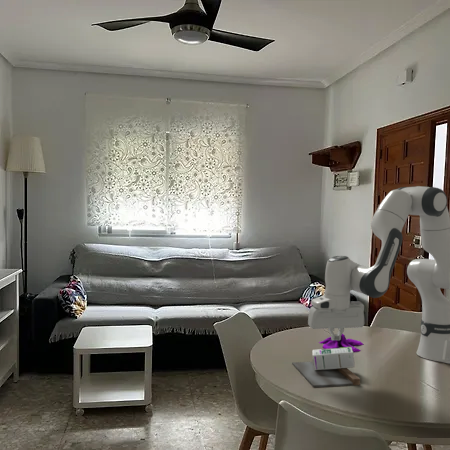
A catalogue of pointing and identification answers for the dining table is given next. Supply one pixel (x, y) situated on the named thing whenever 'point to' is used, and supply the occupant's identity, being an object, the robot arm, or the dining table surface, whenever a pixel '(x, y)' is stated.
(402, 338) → the dining table surface
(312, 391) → the dining table surface
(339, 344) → the cloth
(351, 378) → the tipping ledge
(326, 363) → the syrup box
